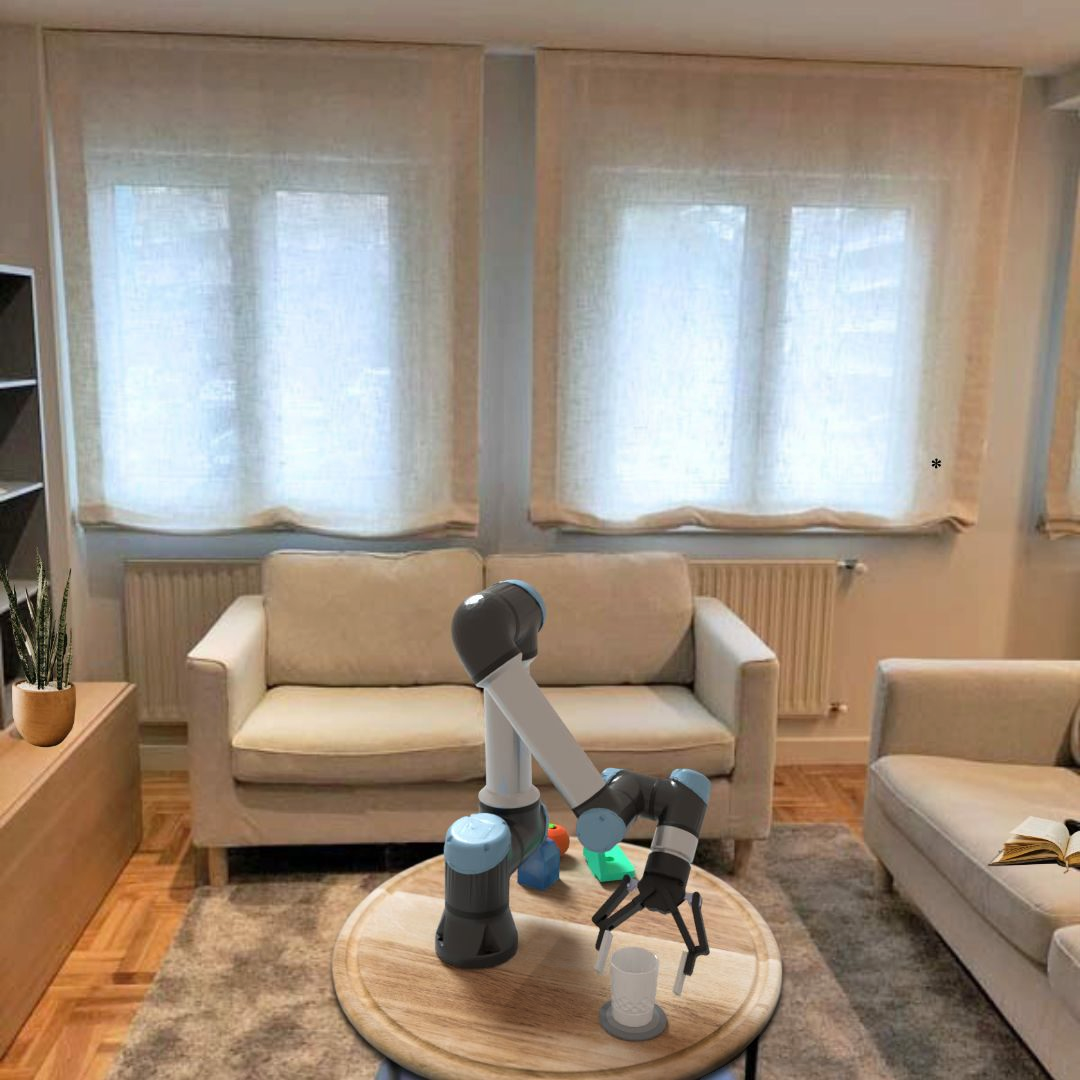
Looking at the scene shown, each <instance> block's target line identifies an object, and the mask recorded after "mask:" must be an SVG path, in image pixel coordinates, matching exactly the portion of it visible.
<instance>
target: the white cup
mask: <svg viewBox="0 0 1080 1080" xmlns="http://www.w3.org/2000/svg"><path fill="white" fill-rule="evenodd" d="M609 965H610V967H609V968H610V969H609V975H610V976H609V977H610V979H609V980H610V998H611V999H610V1000H612V1015H613V1018H614V1020H616V1021H617V1022H618V1023H620V1024H621V1025H625V1026H628V1027H641V1026H644V1025H647V1024H648V1023H649V1022H650V1021H651V1020H652V1017H653V1010H654V1004H656V995H657V989H658V988H657V986H658V977H659V976H658V975H659V967H660V966H659V965H660V960H659V957H658V956H657V955H656V954H655V953H654V952H652V951H651V950H649V949H646V948H644V947H638V946H625V947H621V948H619V949H616V950H615V951H613V952H612V953H611V956H610V957H609Z"/></svg>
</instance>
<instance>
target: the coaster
mask: <svg viewBox="0 0 1080 1080" xmlns="http://www.w3.org/2000/svg"><path fill="white" fill-rule="evenodd" d="M598 1016H599V1017H598V1020H599V1023H600V1025H601V1028H602V1029H603V1030H604V1031H605V1032H607V1034H609V1035H611V1036H612V1037H615V1038H618V1039H620V1040H622V1041H623V1040H624V1041H629V1042H643V1041H649V1040H652V1039H654V1038H657V1037H658V1036H660V1035H661V1034H662V1033H663V1032H664V1031H665V1029H666V1028H667V1015H666V1012H665V1011H664V1010H663V1008H662V1007H661V1006H660V1005H658V1004H657V1003H655V1004H654V1010H653V1017H652V1020H651V1021H650V1022H649V1023H648V1024H647V1025H644V1026H641V1027H628V1026H625V1025H621V1024H620V1023H618V1022H617V1021H616V1020H614V1018H613V1015H612V1000H611V999H610V1000H609V1001H607V1002H605V1003H604V1004H603V1005H602V1006H601V1008H600V1011H599V1014H598Z"/></svg>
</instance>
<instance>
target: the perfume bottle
mask: <svg viewBox="0 0 1080 1080" xmlns="http://www.w3.org/2000/svg"><path fill="white" fill-rule="evenodd" d="M547 837H548V832H547V835H546V837H545V839H544V841H543V842H542V844H541V846H540V847H539V848H538V850H537V851H535V852H534V853H533V854H532V855H531V856H530V857H529V858H528V859H527V860H526V861H525V862H524V863H523V864H522V865H521V866H520V867H519V868H518V869H517V870H516V871H517V875H516V877H517V879H516V880H517V881H516V883H517V884H520V885H523V886H526V887H529V888H532V889H534V890H538V891H540V892H545V891H546V890H547V889H548V888H549V887H551V886H552V885H554V884H555V883H556V882H557V881H559V880H560V870H561V868H560V867H561V861H560V859H561V856H560V850H559V849H558V847H557V846H556V844H555V843H554V841H553V840H551V839H548V838H547Z"/></svg>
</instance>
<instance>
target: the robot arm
mask: <svg viewBox="0 0 1080 1080" xmlns="http://www.w3.org/2000/svg"><path fill="white" fill-rule="evenodd" d="M546 618H547V607H546V603H545V600H544V597H542V595H541V593H539V592H538V590H536V588H534V586H532V585H531V584H529V583H527V582H526V581H523V580H519V579H507V580H504V581H503V580H502V581H498V582H495V583H493V584H492V585H491V586H489V587H487V588H485V589H483V590H481V591H479V592H477V593H474V594H472V595H470V596H468V597H466V598H465V599H463V601H462V602H460V604H459V605H458V606H457V608H456V609H455V611H454V613H453V615H452V619H451V625H450V632H451V633H450V634H451V640H452V645H453V648H454V649H455V652H456V656H457V657H458V659H459V661H460V663H461V665H462V666H463V668H464V670H465V671H466V674H467V675H468V676H469V678H470V679H471V681H472V682H473V683H474V684H475V686H476V687H477V688H483V703H484V706H483V707H484V744H485V745H484V746H485V747H484V749H485V781H486V782H485V783H486V785H485V786H484V787H483V788H481V790H480V791H479V792H478V813H477V812H476V813H472V814H470V816H467V815H465V816H462V817H461V818H459V819H457V820H455V821H454V822H453V823H452V824H451V825H450V827H448V829H447V831H446V834H445V839H444V840H445V842H444V845H443V855H444V908H443V911H442V913H441V917H440V920H439V923H438V924H437V928H436V931H435V935H434V950H435V952H436V954H437V957H439V958H440V959H441V960H442V961H444V962H445V963H447V964H449V965H451V966H454V967H457V968H460V969H467V970H468V969H469V970H484V969H490V968H495V967H497V966H501V965H503V964H505V963H507V962H508V961H510V960H511V959H512V958H514V956H516V954H517V952H518V949H519V931H518V929H517V926H516V923H515V920H514V916H513V914H512V910H511V908H510V881H511V877H512V875H513V874H514V873H515V872H516V871H517V869H518V868H519V867H520V866H521V865H522V864H523V863H524V862H525V861H526V860H527V859H528V858H529V857H530V856H531V855H532V854H533V853H534V852H535V851H537V850H538V848H539V847H540V846H541V844H542V842H543V841H544V839H545V837H546V835H547V832H548V829H549V823H550V815H549V811H548V809H547V806H546V805H545V804H544V803H543V802H542V799H541V793H540V790H539V789H538V787H536V786H535V785H534V784H533V783H532V782H533V777H532V776H533V775H532V772H533V771H532V756H533V758H534V759H535V760H536V762H537V764H538V765H539V766H540V767H541V769H542V770H543V771H544V773H545V775H546V776H547V777H548V778H549V780H550V782H551V783H552V784H553V785H554V787H555V788H556V790H557V791H558V792H559V795H561V797H562V799H563V800H564V802H565V803H566V804H567V805H568V807H569V809H570V810H571V811H572V812H573V814H574V816H575V817H576V819H577V821H576V824H575V832H576V833H575V834H576V837H577V839H578V841H579V843H580V844H581V846H583V847H585V848H586V849H588V850H590V851H592V852H595V853H604V852H608V851H610V850H611V849H613V848H614V847H615V846H616V845H618V844H619V843H621V842H622V840H624V838H625V837H626V835H627V833H628V832H629V831H630V829H632V827H633V826H634V825H635V823H636V822H637V821H638V820H639V818H641V819H646V820H650V821H653V822H657V824H656V828H655V832H654V834H653V839H652V840H651V845H650V850H651V852H649V854H648V855H647V859H646V863H645V866H644V870H643V874H642V877H640V880H638V879H635V878H631V877H630V876H629V875H627V874H626V875H624V876H623V879H621V881H620V882H619V883H620V884H619V885H618V887H617V888H616V889H615V890H614V891H613V893H611V895H610V896H609V897H608V898H607V899H606V900H605V902H604V903H603V904H602V905H601V906H600V907H599V908H598V910H597V911H596V912H595V913H594V914H593V915H592V917H591V922H592V923H593V924H594V925H595V926H596V927H597V928H598V929H599V931H598V934H597V937H596V941H595V949H596V950H597V951H598V954H597V957H596V961H595V964H594V968H593V970H594V971H595V972H597V974H599V975H603V973H604V970H605V967H606V962H607V959H608V956H609V951H610V949H611V946H612V942H613V939H614V935H613V933H612V931H613V930H614V929H616V928H617V927H619V926H620V925H621V924H623V923H624V922H625V921H627V920H629V919H630V918H631V917H633V916H634V915H635V914H637V913H638V912H641V911H643V910H644V909H647V910H648V911H650V912H652V913H654V912H655V913H656V912H658V913H659V914H661V915H665V916H667V915H668V914H671V916H672V918H673V921H674V922H675V924H676V926H677V928H678V931H679V932H680V935H681V937H682V939H683V942H684V943H685V946H686V948H687V951H685V950H682V952H681V957H680V960H679V965H678V968H677V972H676V975H675V981H674V984H673V988H672V993H673V994H674V995H675V996H677V997H681V995H682V991H683V988H684V984H685V979H686V976H688V977H691V976H692V975H693V973H694V969H695V965H696V961H697V958H698V957H699V956H709V955H710V952H711V950H710V946H709V941H708V937H707V933H706V932H707V931H706V926H705V923H704V918H703V913H702V912H703V911H702V908H703V907H702V906H703V897H702V896H701V894H700V892H699V891H694V892H693V893H692V892H686V889H687V886H688V880H689V878H690V873H691V870H692V866H691V864H692V863H693V861H694V858H695V855H696V851H697V847H698V844H699V839H700V834H701V831H702V827H703V823H704V821H705V817H706V813H707V809H708V807H709V800H710V795H711V789H712V783H711V781H710V779H708V777H707V776H705V774H702V773H701V772H699V771H696V770H694V769H693V770H692V769H689V768H676V769H674V770H672V772H671V774H670V776H669V778H660V777H656V776H653V775H648V774H645V773H640V772H635V771H630V770H628V769H625V768H614V767H607V768H605V769H604V770H603V771H602V772H601V773H600V772H599V770H598V769H597V768H596V766H595V765H594V763H593V762H592V761H591V760H590V758H589V756H588V755H587V754H586V752H585V751H584V749H583V748H582V746H581V745H580V744H579V742H578V741H577V739H576V738H575V736H573V734H572V732H571V731H570V730H569V728H568V727H567V725H566V723H564V721H563V719H562V718H561V717H560V716H559V714H558V713H557V711H556V710H555V709H554V707H553V705H552V704H551V703H550V701H549V700H548V698H547V697H546V695H545V694H544V693H543V691H542V690H541V688H540V687H539V685H538V684H537V683H536V681H535V680H534V678H533V677H532V676H531V668H530V667H531V666H530V665H531V663H533V662H534V660H535V659H536V658H537V657H538V655H539V654H538V652H539V651H538V650H539V649H538V647H539V646H538V645H539V641H538V636H539V635H538V634H539V633H540V632H541V631H542V629H543V627H544V625H545V622H546V620H547V619H546ZM635 889H637V891H638V894H637V895H636V896H634V897H633V898H632V899H631V901H630V902H628V903H627V904H625V905H624V906H623V907H621V908H620V909H618V910H617V911H616V912H614V911H615V910H616V909H617V908H618V906H620V904H621V903H622V902H623V901H624V900H625V899H626V898H627V896H629V893H630V892H633V891H634V890H635ZM685 901H687V903H688V905H689V907H690V908H691V914H692V918H693V923H694V927H695V931H696V937H697V941H698V945H696V944H695V942H694V940H693V938H692V936H691V934H690V931H689V929H688V927H687V924H686V923H685V920H684V919H683V917H682V914H681V911H680V910H679V906H680V905H682V904H684V902H685ZM613 912H614V913H613Z"/></svg>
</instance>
